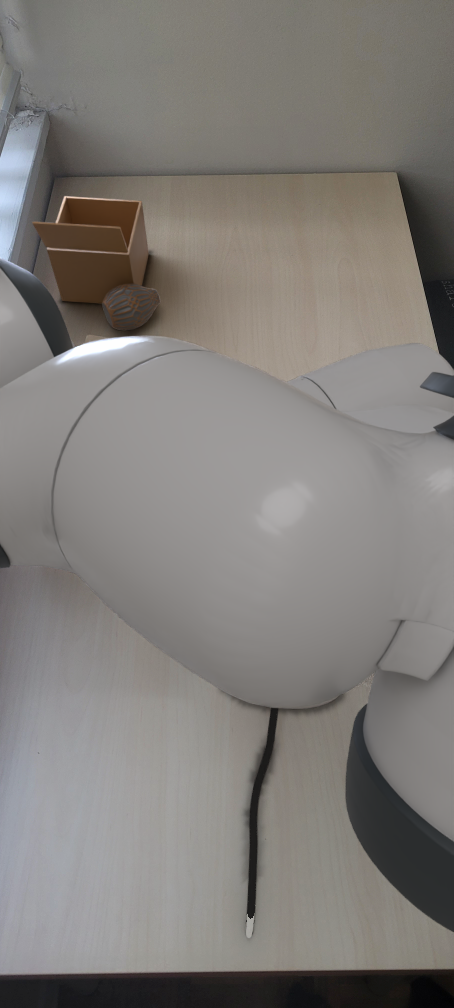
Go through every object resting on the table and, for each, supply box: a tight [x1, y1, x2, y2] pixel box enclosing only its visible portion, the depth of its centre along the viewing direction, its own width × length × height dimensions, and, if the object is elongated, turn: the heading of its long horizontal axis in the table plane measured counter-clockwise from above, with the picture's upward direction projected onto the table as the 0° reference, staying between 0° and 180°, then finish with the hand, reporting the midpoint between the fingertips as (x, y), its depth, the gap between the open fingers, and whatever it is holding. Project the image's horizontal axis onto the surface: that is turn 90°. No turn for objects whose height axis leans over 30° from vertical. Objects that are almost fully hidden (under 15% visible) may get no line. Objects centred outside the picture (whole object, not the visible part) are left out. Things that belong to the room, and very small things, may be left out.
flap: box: [32, 221, 128, 252], centre depth 94 cm, size 6×13×1 cm
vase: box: [101, 284, 161, 331], centre depth 102 cm, size 7×7×9 cm
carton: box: [46, 195, 150, 305], centre depth 105 cm, size 13×13×10 cm
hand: (15, 448), depth 68 cm, fingers open, 8 cm apart
